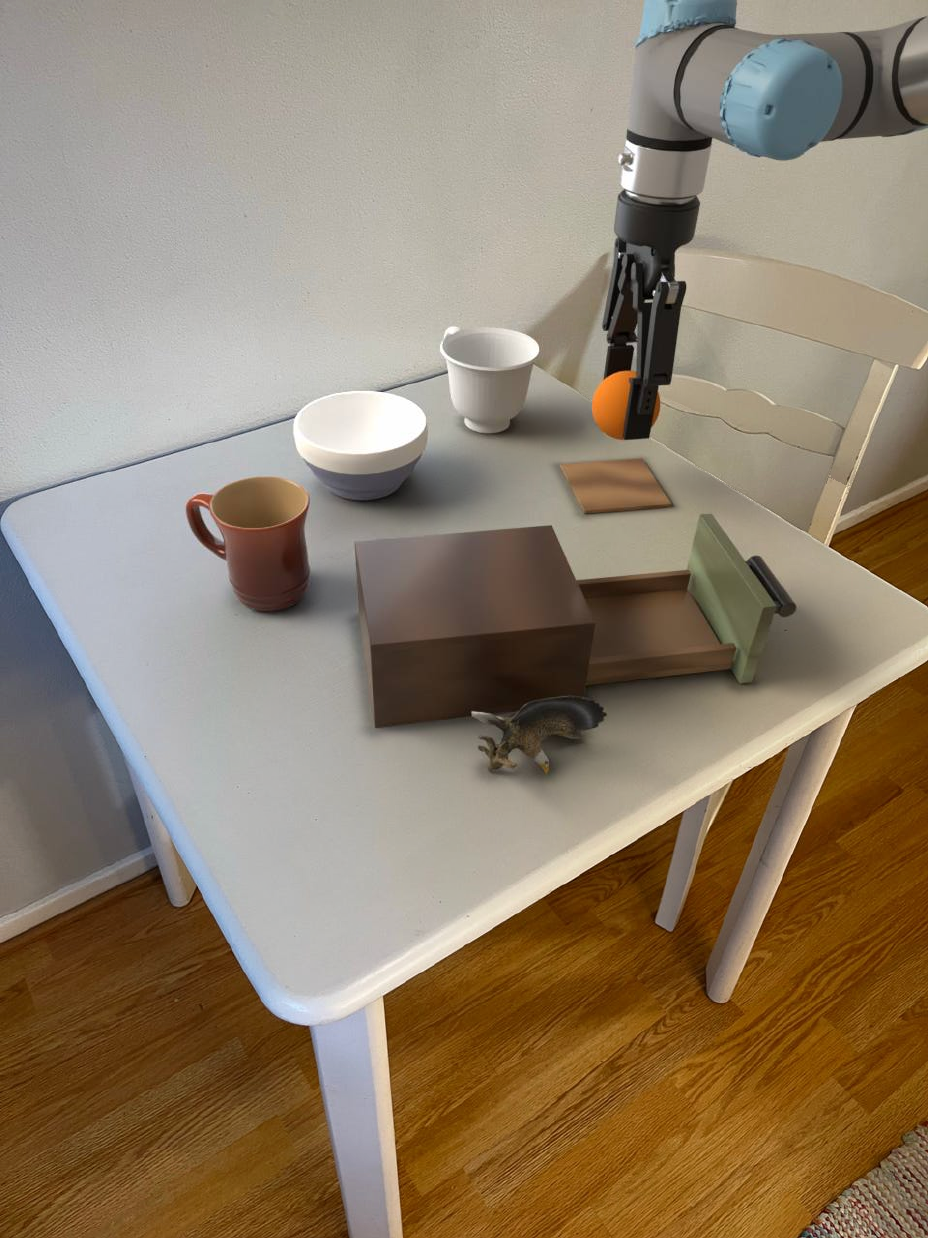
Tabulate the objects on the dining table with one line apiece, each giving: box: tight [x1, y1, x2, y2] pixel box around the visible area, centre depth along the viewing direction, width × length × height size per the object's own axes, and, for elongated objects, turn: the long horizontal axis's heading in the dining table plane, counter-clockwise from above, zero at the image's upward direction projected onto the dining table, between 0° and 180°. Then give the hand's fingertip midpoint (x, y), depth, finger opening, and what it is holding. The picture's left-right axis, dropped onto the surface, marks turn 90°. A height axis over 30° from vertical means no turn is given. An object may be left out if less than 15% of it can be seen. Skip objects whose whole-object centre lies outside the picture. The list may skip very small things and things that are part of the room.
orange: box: [591, 370, 661, 441], centre depth 96 cm, size 7×7×7 cm
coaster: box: [559, 457, 672, 515], centre depth 102 cm, size 10×10×1 cm
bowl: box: [293, 390, 429, 501], centre depth 99 cm, size 14×14×8 cm
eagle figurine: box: [471, 695, 608, 774], centre depth 70 cm, size 8×7×9 cm
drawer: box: [576, 512, 798, 686], centre depth 79 cm, size 22×14×9 cm, turn 100°
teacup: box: [439, 325, 542, 434], centre depth 111 cm, size 12×15×10 cm
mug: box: [185, 475, 311, 612], centre depth 83 cm, size 12×9×10 cm
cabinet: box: [353, 524, 595, 728], centre depth 77 cm, size 18×14×9 cm
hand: (624, 419), depth 97 cm, fingers closed on orange, 7 cm apart
